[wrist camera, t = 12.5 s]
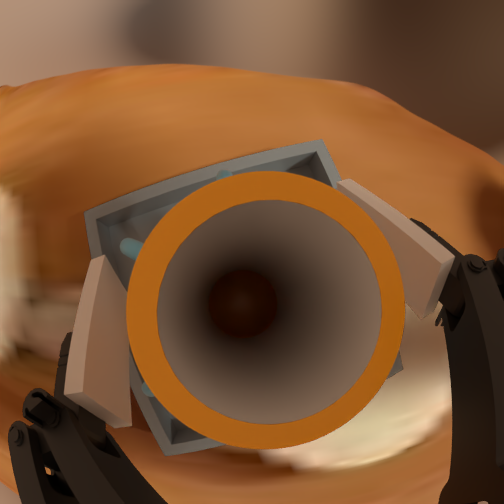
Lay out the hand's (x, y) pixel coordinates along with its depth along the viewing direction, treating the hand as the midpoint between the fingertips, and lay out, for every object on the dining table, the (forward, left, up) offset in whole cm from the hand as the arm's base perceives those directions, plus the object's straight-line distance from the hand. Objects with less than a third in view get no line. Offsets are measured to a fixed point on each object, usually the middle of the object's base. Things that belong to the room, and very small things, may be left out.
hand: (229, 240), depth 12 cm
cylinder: (0, +3, -7) cm, 7 cm away
